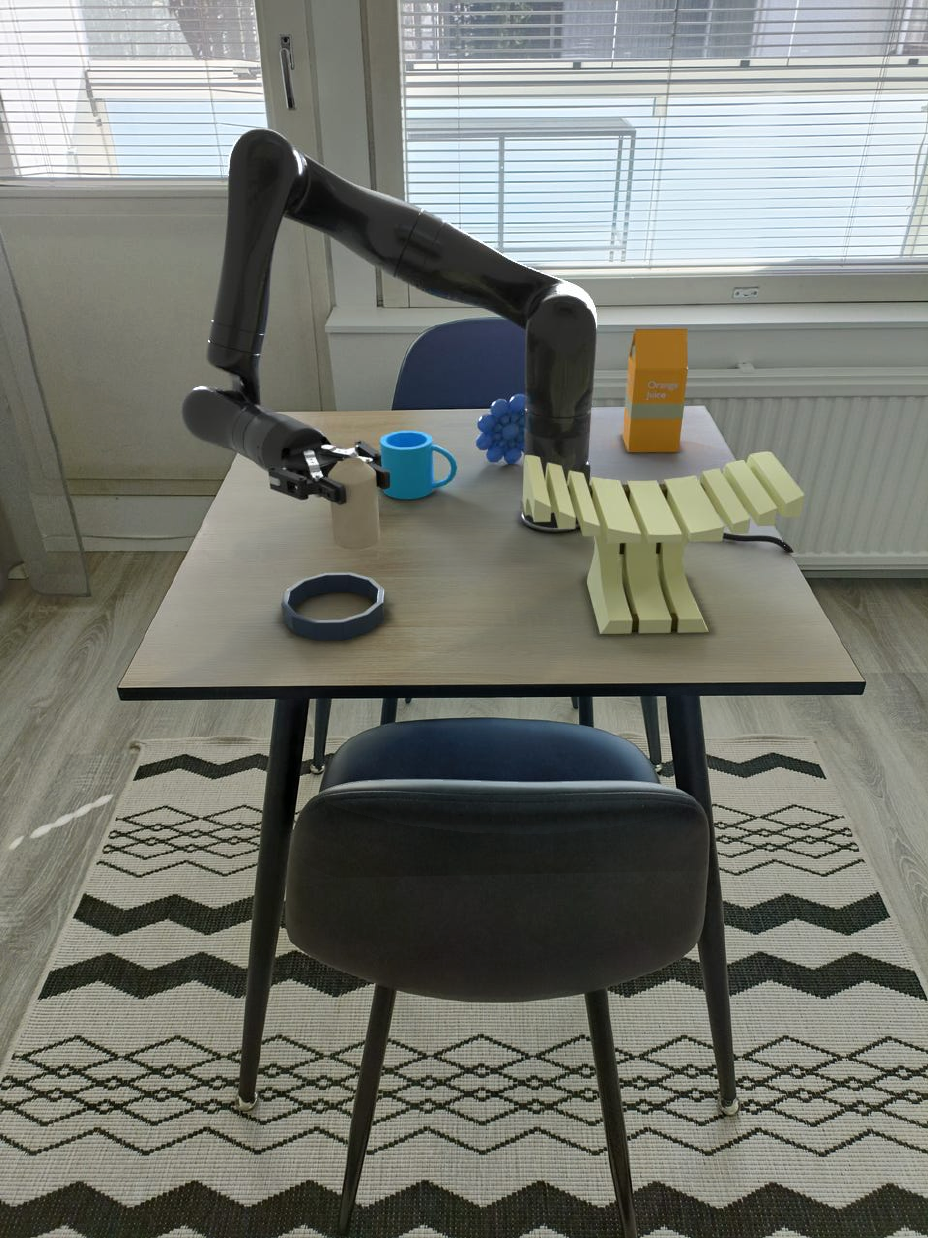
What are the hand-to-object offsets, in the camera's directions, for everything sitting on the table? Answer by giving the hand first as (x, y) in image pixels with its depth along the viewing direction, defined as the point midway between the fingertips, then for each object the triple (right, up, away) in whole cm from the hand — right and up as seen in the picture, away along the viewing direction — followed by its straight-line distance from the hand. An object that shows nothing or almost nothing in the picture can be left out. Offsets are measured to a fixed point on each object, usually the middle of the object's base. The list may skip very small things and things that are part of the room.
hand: (365, 488), depth 110 cm
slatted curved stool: (+34, -13, +13) cm, 38 cm away
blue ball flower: (+19, +11, +53) cm, 57 cm away
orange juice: (+44, +16, +59) cm, 75 cm away
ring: (-5, -14, +10) cm, 18 cm away
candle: (-2, -6, +6) cm, 8 cm away
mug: (+4, +5, +43) cm, 43 cm away
